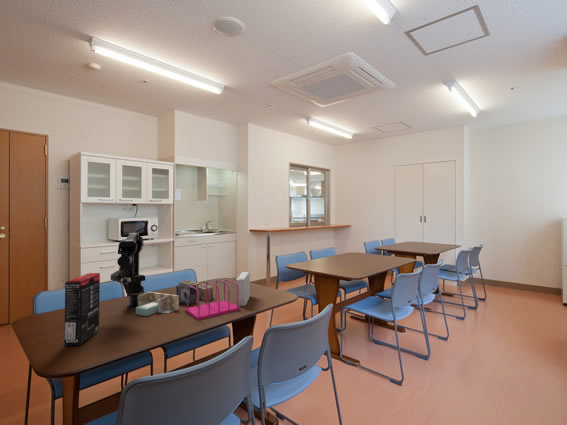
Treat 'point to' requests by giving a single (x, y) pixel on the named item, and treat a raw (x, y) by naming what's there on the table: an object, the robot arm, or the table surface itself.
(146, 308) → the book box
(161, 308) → the bookend
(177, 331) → the table surface
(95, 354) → the table surface
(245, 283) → the skincare box
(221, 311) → the file sorter
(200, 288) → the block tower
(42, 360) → the table surface
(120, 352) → the table surface
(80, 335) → the graphics card box
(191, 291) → the small box
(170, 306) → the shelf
